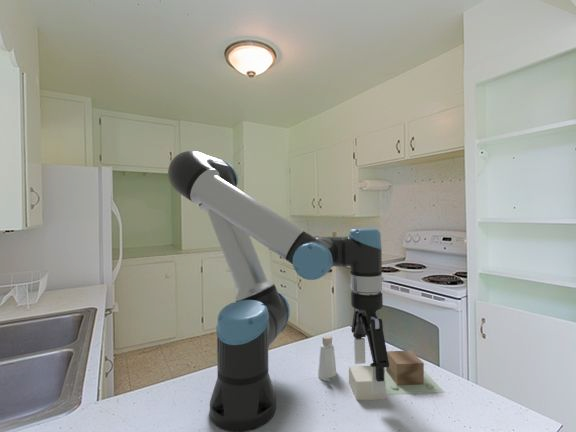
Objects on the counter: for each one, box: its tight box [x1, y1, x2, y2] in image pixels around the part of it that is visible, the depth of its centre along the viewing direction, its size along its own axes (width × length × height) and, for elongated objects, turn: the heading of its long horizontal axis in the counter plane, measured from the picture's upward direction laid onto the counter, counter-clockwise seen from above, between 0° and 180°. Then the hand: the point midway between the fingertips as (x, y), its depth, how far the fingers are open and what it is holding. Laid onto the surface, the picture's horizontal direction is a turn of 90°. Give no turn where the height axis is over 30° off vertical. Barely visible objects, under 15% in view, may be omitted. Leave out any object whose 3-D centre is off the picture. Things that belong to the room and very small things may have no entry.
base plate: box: [369, 364, 445, 396], centre depth 80 cm, size 14×14×1 cm
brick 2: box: [386, 350, 425, 386], centre depth 79 cm, size 7×7×6 cm
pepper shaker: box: [317, 334, 337, 382], centre depth 82 cm, size 5×5×11 cm
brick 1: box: [348, 365, 387, 401], centre depth 74 cm, size 7×7×6 cm
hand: (368, 376), depth 74 cm, fingers open, 13 cm apart
